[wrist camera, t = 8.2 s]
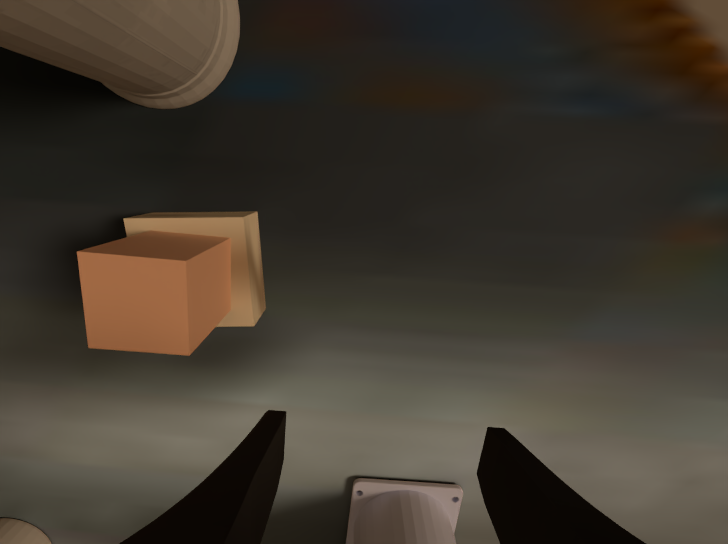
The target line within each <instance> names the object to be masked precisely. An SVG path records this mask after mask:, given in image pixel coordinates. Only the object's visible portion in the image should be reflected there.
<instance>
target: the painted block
mask: <svg viewBox="0 0 728 544" xmlns="http://www.w3.org/2000/svg"><path fill="white" fill-rule="evenodd" d="M77 257H78V265H79V274H80V282H81V290H82V298H83V307H84V315H85V323H86V332H87V340H88V348H95V349H108V350H122V351H135V352H148V353H161V354H174V355H188V356H190V354H191V353H192V352H193V351H194V350H195V349H196V348H197V347H198V346H199V345H200V343H201V342H202V341H203V340H204V339H205V338H206V337H207V336H208V335H209V334H210V332H211V331H212V330H213V329H214V328H215V327H216V326H217V325H218V324H219V323H220V321H221V320H222V319H223V318H224V317H225V316H226V315H227V314H228V313H229V311H230V310H231V238H228V237H217V236H206V235H195V234H185V233H174V232H163V231H152V230H151V231H147V232H144V233H140V234H137V235H133V236H130V237H126V238H122V239H119V240H115V241H112V242H108V243H105V244H101V245H98V246H94V247H91V248H87V249H84V250H80V251H77Z"/></svg>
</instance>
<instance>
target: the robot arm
mask: <svg viewBox="0 0 728 544" xmlns="http://www.w3.org/2000/svg"><path fill="white" fill-rule="evenodd" d="M285 426H286V411H274V410H268V411H267V412H266V413H265V414H264V415H263V417H262V418H261V419H260V421H259V422H258V423H257V424H256V426H255V427H254V428H253V429H252V431H251V432H250V433H249V434H248V435H247V437H246V438H245V439H244V440H243V441H242V442H241V443H240V444H239V446H238V447H237V448H236V449H235V450H234V451H233V452H232V453H231V454H230V455H229V456H228V457H227V458H226V459H225V460H224V461H223V462H222V463H221V464H220V465H219V466H218V467H217V468H216V469H215V470H214V471H213V472H212V473H211V474H210V475H209V476H208V477H207V478H206V479H205V480H204V481H203V482H202V483H200V484H199V485H198V486H197V487H196V488H195V489H194V490H192V491H191V492H190V493H189V494H188V495H186V496H185V497H184V498H183V499H182V500H180V501H179V502H178V503H176V504H175V505H174V506H173V507H171V508H170V509H169V510H168V511H166V512H165V513H164V514H162V515H161V516H160V517H158V518H157V519H155V520H154V521H153V522H151V523H150V524H148V525H147V526H145V527H144V528H142V529H141V530H139V531H138V532H136V533H135V534H133V535H132V536H130V537H129V538H127V539H126V540H124V541H123V542H121V543H120V544H260V543H261V540H262V537H263V533H264V530H265V527H266V524H267V521H268V518H269V515H270V511H271V508H272V505H273V502H274V499H275V496H276V492H277V489H278V484H279V479H280V475H281V470H282V465H283V460H284V444H285ZM477 476H478V480H479V484H480V488H481V492H482V495H483V499H484V503H485V505H486V508H487V511H488V513H489V516H490V519H491V521H492V524H493V526H494V529H495V531H496V534H497V536H498V539H499V541H500V544H646V543H644V542H643V541H641V540H640V539H638V538H637V537H635V536H634V535H632V534H631V533H629V532H628V531H626V530H625V529H623V528H622V527H620V526H619V525H618V524H616V523H615V522H614V521H612V520H611V519H610V518H608V517H607V516H605V515H604V514H603V513H601V512H600V511H599V510H597V509H596V508H595V507H593V506H592V505H591V504H590V503H588V502H587V501H586V500H585V499H583V498H582V497H581V496H580V495H579V494H577V493H576V492H575V491H574V490H573V489H571V488H570V487H569V486H568V485H567V484H565V483H564V482H563V481H562V480H561V479H560V478H558V477H557V476H556V475H555V474H554V473H553V472H552V471H551V470H549V469H548V468H547V467H546V466H545V465H544V464H543V463H542V462H541V461H540V460H539V459H537V458H536V457H535V456H534V455H533V454H532V453H531V452H530V451H529V450H528V449H527V448H526V447H525V446H523V445H522V444H521V443H520V442H519V441H518V440H517V439H516V438H515V437H514V436H513V435H511V434H510V433H509V432H508V431H507V430H506V429H505V428H494V427H488V428H487V432H486V436H485V440H484V445H483V449H482V453H481V457H480V462H479V466H478V470H477ZM359 490H360V491H359ZM462 496H463V491H462V488H461V486H459V485H454V484H439V483H425V482H410V481H395V480H381V479H366V478H358V479H356V480H355V481H354V482H353V488H352V496H351V505H350V513H349V521H348V529H347V537H346V544H456V541H455V537H454V531H455V527H456V523H457V518H458V514H459V510H460V505H461V501H462ZM453 497H455V498H453Z"/></svg>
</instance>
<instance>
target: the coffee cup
mask: <svg viewBox="0 0 728 544" xmlns="http://www.w3.org/2000/svg"><path fill="white" fill-rule="evenodd" d="M0 544H52V543H51V541H50V540H49V539H48V537H47V536H46V535H45V534H44V533H43V532H42V531H41V530H39V529H38V528H37V527H35V526H33V525H31V524H29V523H27V522H24V521H21V520H17V519H12V518H0Z"/></svg>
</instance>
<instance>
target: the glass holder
mask: <svg viewBox="0 0 728 544" xmlns="http://www.w3.org/2000/svg"><path fill="white" fill-rule="evenodd" d="M239 36H240V14H239V7H238V0H0V47H3V48H6V49H9V50H11V51H14V52H17V53H20V54H23V55H26V56H29V57H31V58H34V59H37V60H40V61H43V62H46V63H48V64H51V65H54V66H57V67H60V68H63V69H66V70H68V71H71V72H74V73H77V74H80V75H83V76H85V77H88V78H91V79H94V80H97V81H100V82H101V83H102V84H103V85H105V86H106V87H107V88H109V89H110V90H112V91H113V92H114V93H116V94H117V95H119V96H121V97H123V98H125V99H127V100H129V101H131V102H133V103H136V104H139V105H142V106H145V107H149V108H157V109H174V108H180V107H184V106H188V105H191V104H193V103H195V102H197V101H199V100H201V99H203V98H205V97H206V96H207V95H208V94H210V93H211V92H212V91H214V90H215V89H216V87H217V86H218V85H219V84H220V83H221V82H222V81H223V79H224V78H225V76H226V74H227V73H228V71H229V69H230V67H231V66H232V63H233V60H234V57H235V55H236V52H237V47H238V41H239Z"/></svg>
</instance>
